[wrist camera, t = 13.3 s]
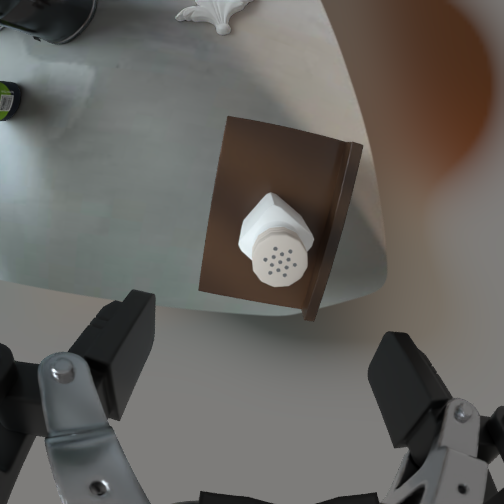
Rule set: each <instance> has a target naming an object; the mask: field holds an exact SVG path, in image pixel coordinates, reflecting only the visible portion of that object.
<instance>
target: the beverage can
mask: <svg viewBox="0 0 504 504" xmlns="http://www.w3.org/2000/svg"><path fill="white" fill-rule="evenodd" d="M20 98H21V94H20V90H19V87H18V85H17V84H16V83H13V82H6V81H0V121H6V120H8V119H10V118H11V117H12V116H13V114H14V113H15V112H16V111H17V109H18V106H19V104H20Z"/></svg>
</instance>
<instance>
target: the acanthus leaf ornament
mask: <svg viewBox="0 0 504 504" xmlns="http://www.w3.org/2000/svg"><path fill="white" fill-rule="evenodd" d="M251 1H253V0H195V2H196V4H197V5H198V6H191V7H187V8H184V9H183V10H181V11H180V12H179V13H178V15H177V16H176V17H175V19H176V20H177V21H179V22H180V21H183V20H187V21H191V20H193V21H194V22H201V21H205V22H209V23H211V24H213V25H214V26H215V27H216V31H217V33H218V34H220V35H227V34H229V33H230V31H231V28H230V26H229V25H228V22H229V19H230V17H231V16H232V15H233V14H234V13H236V12H238V11H241V10H243V9H244V6H245V5H247V4H248V2H251Z"/></svg>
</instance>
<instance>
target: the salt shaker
mask: <svg viewBox="0 0 504 504" xmlns="http://www.w3.org/2000/svg"><path fill="white" fill-rule="evenodd" d="M313 241H314V237H313V235H312V233H311V231H310V230H309V228H308V226H307V225H306V223H305V221H304V220H303V218H302V216H301V215H300V214H299V213H297V212H296V211H295V210H294V209H293V208H292V207H291V206H289V205H288V204H287V203H286V202H285V201H284V200H282V199H281V198H280V197H279V196H278V195H277V194H274V193H271V192H270V193H268V194H266V195H265V196H264V197H263V198H262V200H261V201H260V202H259V203H258V204H257V205H256V206H255V208H254V209H253V210H252V211H251V212H250V213H249V214H248V216H247V217H246V218H245V219H244V221H243V224H242V228H241V233H240V238H239V243H238V245H239V247H240V249H241V251H242V252H243V253H244V254H245V255H247V256H248V257H249V258H250V259H251V260H252V265H253V271H254V272H255V274H256V275H257V276H258V278H259V279H260V280H261V282H264V283H266V284H268V285H270V286H273V287H283V286H289V285H291V284H293V283H294V282H296V281H298V280H299V279H301V277H302V276H303V274H304V272H305V270H306V269H307V267H308V256H307V252H308V250H309V249H310V248H311V247H312V244H313Z"/></svg>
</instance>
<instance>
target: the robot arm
mask: <svg viewBox="0 0 504 504" xmlns="http://www.w3.org/2000/svg"><path fill="white" fill-rule="evenodd" d="M96 3H97V2H96V0H0V25H1V26H4V27H7V28H10V29H14V30H17V31H20V32H23V33H26V34H29V35H32V36H33V37H34V39H36V40H39V41H40V39H43V40H45V41H47V42H49V43H52V44H63V43H66V42H68V41H70V40H72V39H74V38H75V37H76V36H78V35H79V34H80V33H81V32H82V31H83V30H84V29H85V28H86V26H87V25H88V24H89V22H90V21H91V19H92V17H93V15H94V13H95V10H96ZM39 38H40V39H39ZM155 302H156V299H155V295H154V294H152V293H147V292H143V291H138V290H134V289H133V290H131V292H130V293H129V294H128V295H127V297H126V298H125V299H124V301H123V302H120V301H116V300H115V301H113V302H111V303H110V304H108V305H106V306H104V307H103V308H102V309H101V310H100V311H99V313H98V314H97V315H96V318H94V319H93V320H92V321H91V323H90V325H88V326H87V328H86V329H85V330H84V331H83V333H82V334H81V335H80V336H79V338H78V339H77V341H76V342H75V343H74V344H73V345H72V347H71V348H70V349H69V351H68V352H58V353H54V354H51V355H49V356H47V357H46V358H44V359H43V360H42V361H41V363H40V364H33V363H25V362H18V361H15V360H14V358H13V355H12V352H11V350H10V349H9V348H8V347H7V346H6V345H4V344H1V343H0V504H7V502H8V499H9V497H10V494H11V491H12V489H13V487H14V484H15V482H16V479H17V477H18V475H19V472H20V470H21V468H22V465H23V463H24V461H25V459H26V457H27V454H28V452H29V450H30V448H31V446H32V444H33V442H34V440H35V438H36V436H42V437H45V446H46V451H47V455H48V459H49V462H50V466H51V470H52V473H53V477H54V480H55V483H56V486H57V489H58V492H59V495H60V498H61V501H62V504H151V503H150V502H149V500H148V498H147V497H146V495H145V493H144V491H143V489H142V488H141V486H140V484H139V482H138V480H137V478H136V476H135V474H134V472H133V470H132V468H131V466H130V464H129V462H128V460H127V458H126V456H125V454H124V452H123V450H122V447H121V445H120V443H119V441H118V439H117V437H116V434H115V432H114V430H113V428H112V427H111V426H110V425H109V423H108V421H107V420H108V418H111V419H114V420H117V421H120V419H121V417H122V415H123V412H124V410H125V408H126V405H127V402H128V401H129V398H130V396H131V394H132V391H133V389H134V386H135V385H136V382H137V380H138V378H139V376H140V373H141V371H142V369H143V367H144V364H145V362H146V360H147V358H148V356H149V353H150V351H151V349H152V345H153V341H154V334H155ZM436 373H437V372H436V370H435V369H434V367H433V366H432V364H431V363H430V361H429V359H428V358H427V356H426V355H425V354H424V353H423V352H421V351H420V350H419V349H418V348H417V347H416V345H415V344H414V342H413V341H412V339H411V338H410V336H409V335H408V334H407V333H402V332H390V331H389V332H386V333H385V335H384V336H383V338H382V340H381V342H380V345H379V347H378V349H377V351H376V353H375V355H374V357H373V359H372V361H371V363H370V365H369V368H368V380H369V383H370V385H371V388H372V391H373V393H374V396H375V398H376V400H377V403H378V406H379V408H380V411H381V413H382V416H383V419H384V422H385V424H386V427H387V430H388V432H389V435H390V438H391V441H392V443H393V446H394V448H401V447H408V448H409V451H408V452H407V453H406V454H405V455H404V457H403V460H402V462H401V465H400V467H399V469H398V472H397V474H396V476H395V479H394V481H393V483H392V485H391V487H390V490H389V492H388V493H387V495H386V497H385V498H384V499H383V501H382V502H381V503H379V500H378V497H377V492H375V493H368V494H361V495H352V496H343V497H337V498H334V499H331V500H327V501H324V502H321V503H316V504H504V488H503V489H502V490H501V491H499V492H498V491H497V489H496V487H495V484H494V482H493V479H492V477H491V474H490V472H489V470H488V465H489V464H490V463H491V462H492V461H493V460H494V459H495V458H496V457H497V456H498V455H499V454H500V455H501V457H502V459H503V461H504V406H500V407H498V408H497V409H496V411H495V412H494V414H493V415H492V416H491V417H485V416H480V415H479V413H478V411H477V409H476V408H475V407H474V406H473V405H472V404H471V403H469V402H468V401H466V400H464V399H461V398H453V397H452V396H451V394H450V392H449V391H448V389H447V388H446V386H445V384H444V383H443V381H442V380H441V378H440V376H439V375H438V374H436ZM173 504H273V503H268V502H265V501H261V500H258V499H254V498H250V497H244V496H233V495H225V494H217V493H210V492H203V491H200V497H199V501H186V502H179V503H173Z"/></svg>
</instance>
